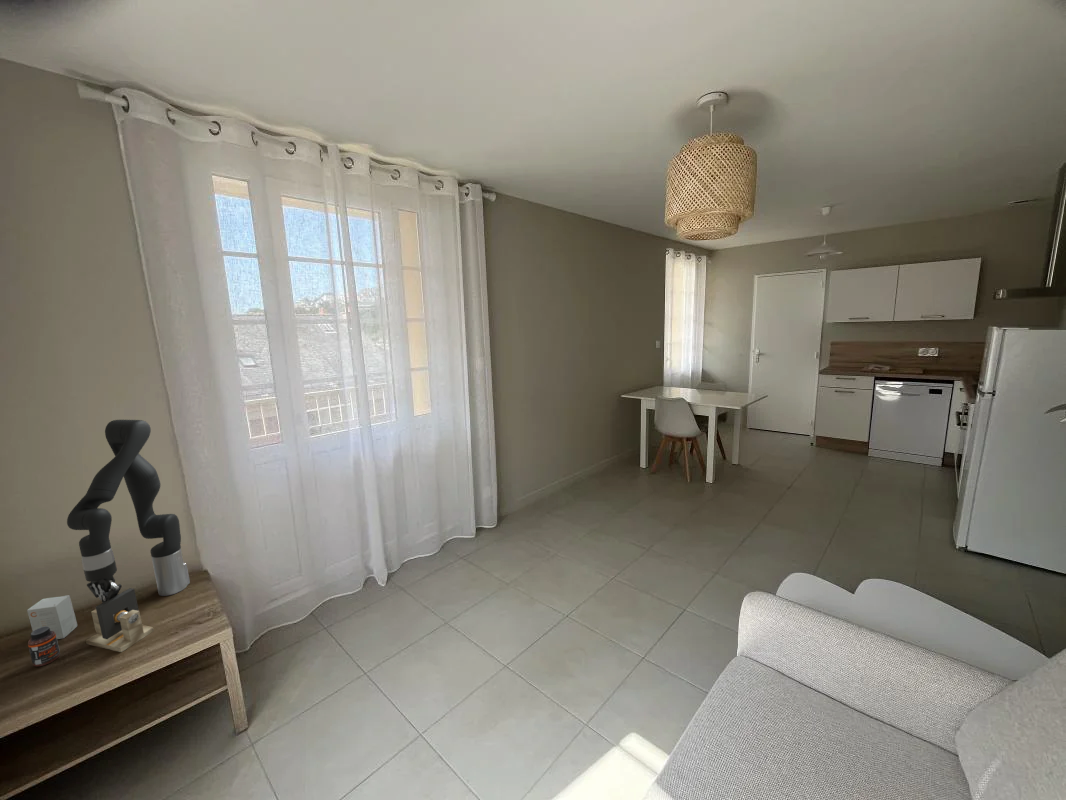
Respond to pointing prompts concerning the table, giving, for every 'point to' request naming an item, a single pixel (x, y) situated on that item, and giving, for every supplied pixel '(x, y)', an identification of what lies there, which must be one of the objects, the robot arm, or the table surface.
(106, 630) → the dark grey flat block
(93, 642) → the pipe stand
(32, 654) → the supplement bottle
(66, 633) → the small box
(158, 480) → the robot arm
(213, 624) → the table surface
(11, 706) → the table surface
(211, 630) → the table surface
